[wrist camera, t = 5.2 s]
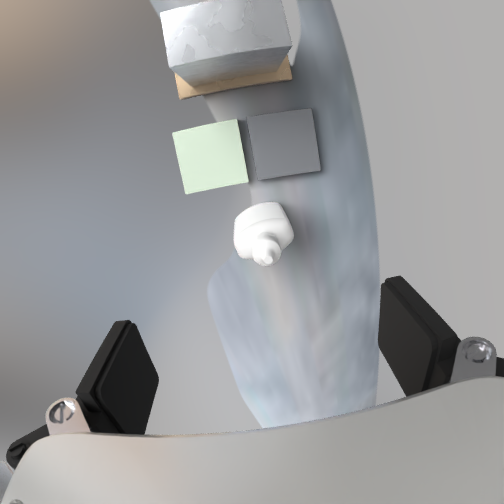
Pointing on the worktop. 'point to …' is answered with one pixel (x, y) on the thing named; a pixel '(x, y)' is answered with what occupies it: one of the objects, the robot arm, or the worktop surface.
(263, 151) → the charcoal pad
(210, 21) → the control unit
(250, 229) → the eye dropper bottle
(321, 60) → the worktop surface
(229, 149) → the sage pad
